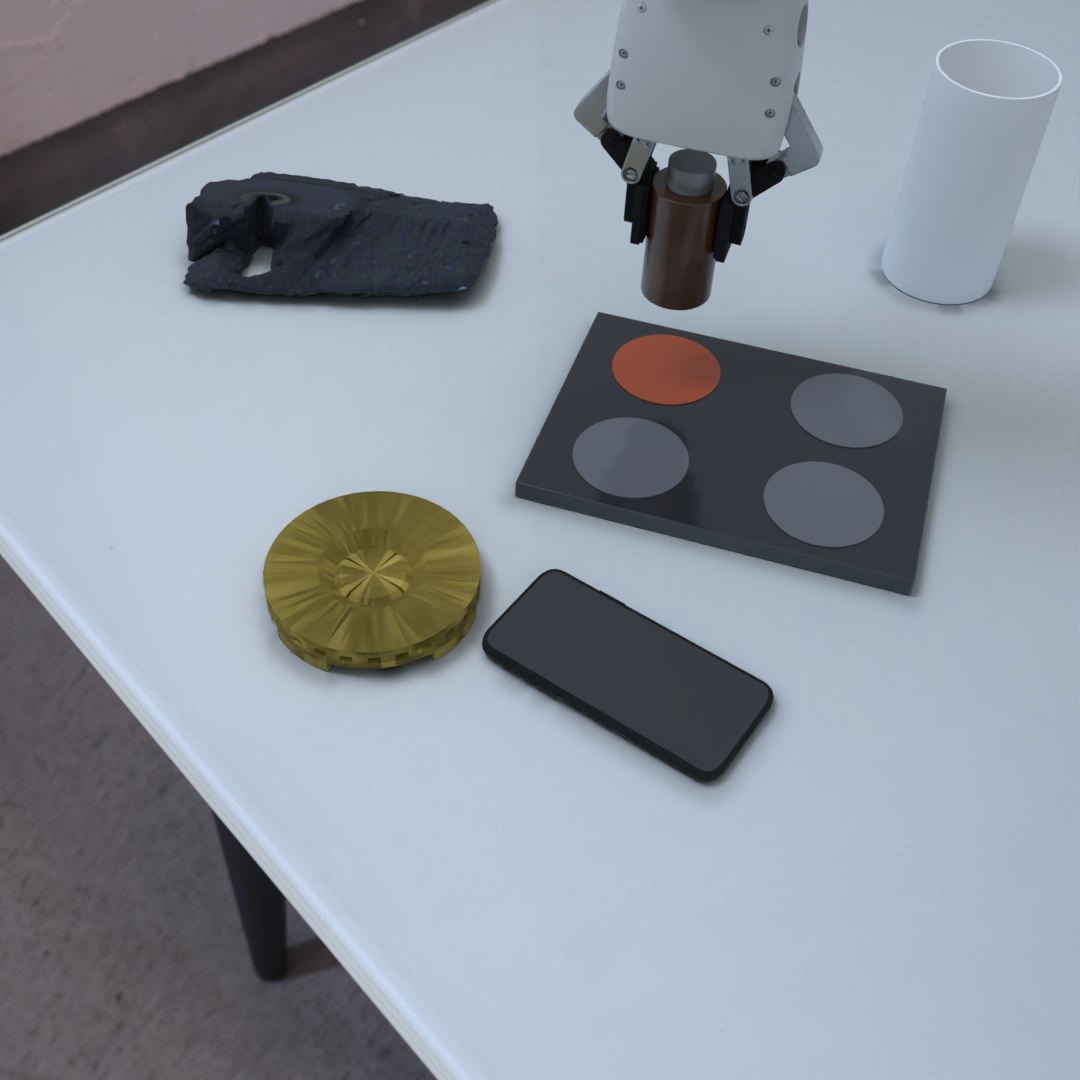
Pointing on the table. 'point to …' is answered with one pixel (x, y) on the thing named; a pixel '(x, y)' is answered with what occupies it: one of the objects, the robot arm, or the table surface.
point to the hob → (742, 450)
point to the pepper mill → (682, 231)
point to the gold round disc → (372, 581)
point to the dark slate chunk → (333, 238)
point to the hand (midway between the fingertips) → (682, 238)
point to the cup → (968, 168)
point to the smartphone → (630, 673)
